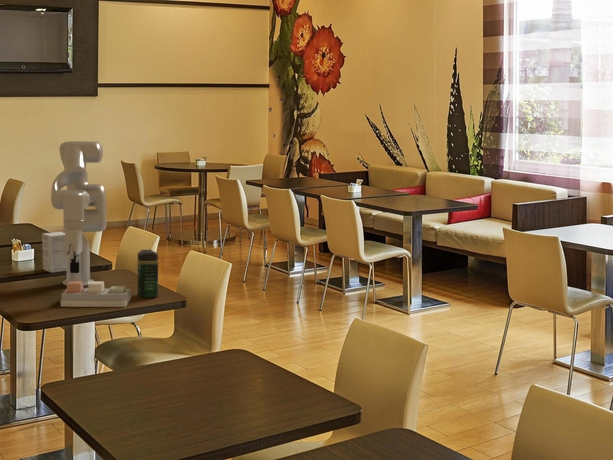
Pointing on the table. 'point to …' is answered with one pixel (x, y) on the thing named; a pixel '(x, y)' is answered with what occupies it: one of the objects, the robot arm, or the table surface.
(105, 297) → the keypad
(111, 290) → the sage key
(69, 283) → the terracotta key
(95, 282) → the cream key
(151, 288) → the coffee jar
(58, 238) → the supplement box
